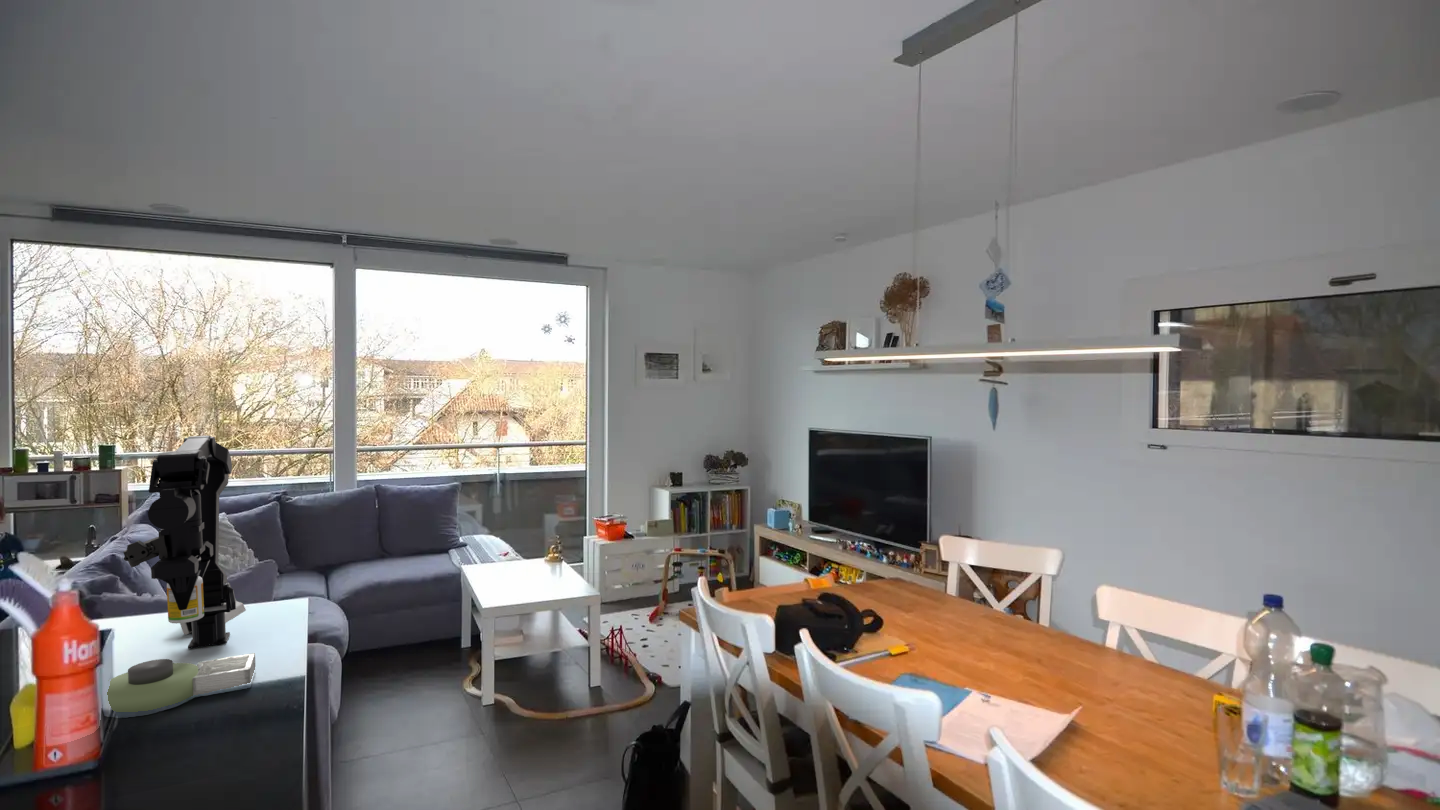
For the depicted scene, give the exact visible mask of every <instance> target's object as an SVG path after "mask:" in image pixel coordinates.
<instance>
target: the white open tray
mask: <svg viewBox="0 0 1440 810" xmlns="http://www.w3.org/2000/svg"><path fill="white" fill-rule="evenodd" d="M196 666H197V667H198V674H197V675H196V676H195V677H193V678H192V679H193V695H198V694H204V693H209V692H212V691H217V690H220V689H226V688H231V687H234V686H239V685H242V684H247V683H250V682H251V679H252V676H253V673H254V670H255V667H256V653H253V652H252V653H247V654H241V655H240V654H239V655H234V656H226V657H221V658H215V659H207V660H202V661H198V663H197V664H196Z"/></svg>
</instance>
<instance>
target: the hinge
mask: <svg viewBox="0 0 1440 810" xmlns="http://www.w3.org/2000/svg"><path fill="white" fill-rule="evenodd" d="M235 600H236V609H235V610H231V611H230V612H225V624H226V623H228V622H229V621H232V620H233V619H234V618H236V617H237V616H239V615H240V614H242V613H244V612H246V610H247V609H246V607H245V605H244V602H241V601H238V600H237V599H236V598H235ZM224 604H226V603H224ZM179 624H180V628H181V630H182V634H183V635H189V634H192V621H191V622H186V623H179Z"/></svg>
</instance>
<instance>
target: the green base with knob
mask: <svg viewBox="0 0 1440 810" xmlns="http://www.w3.org/2000/svg"><path fill="white" fill-rule="evenodd" d="M197 674H198V667H197V664H193V663H190V662H189V663H188V662H174V660H172V659H170V658H169V659H168V658H159V659H151V660H147V661H144V662H141V663H136V664H134V665H132V666H130V667H129V668H128V669H127V672H124V673H122V674H119V675H117V676H114V677H112V678H110V679H111V681H110V686H109V689H108V692H107V695H108V701H109V704H110V706H111V708H112V710H113V711H116V712H138V711H148V710H153V709H157V708H161V707H164V706H168V705H172V704H175V703H178V702H181V701H183V700H185V699H187V698H189V697H191V696H193V679H192V678H193V677H195V676H196V675H197Z"/></svg>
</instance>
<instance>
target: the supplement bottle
mask: <svg viewBox="0 0 1440 810" xmlns="http://www.w3.org/2000/svg"><path fill="white" fill-rule="evenodd" d="M166 598H167V619H168V622H169V623H171V624H180V623H186V622H191V621H195V620H198V619H200V618H202V617H203V616H204V597H203V579H202V578H201V577H200V576H199V577H198V579H197V582H196V585H195V587H194V590H193V593H192V596H191V598H190V601H189V604H188V607H187V609H185V610H179V609H178V606H177V603H176V601H175V598H174V595H173V593H172V590H171V588H170V586H169V584H168V583H166Z"/></svg>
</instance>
